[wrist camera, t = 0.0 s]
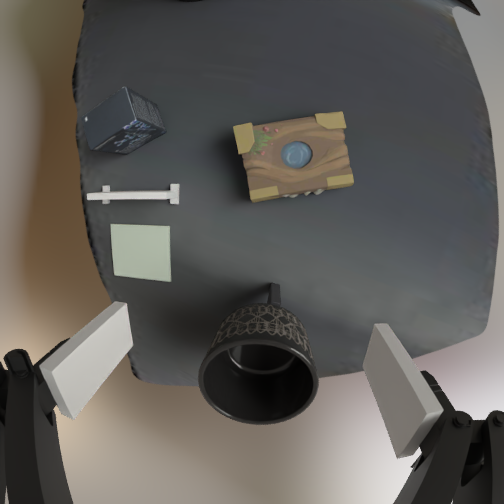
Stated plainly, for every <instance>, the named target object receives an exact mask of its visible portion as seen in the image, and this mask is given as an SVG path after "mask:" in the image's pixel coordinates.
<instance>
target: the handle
mask: <svg viewBox="0 0 504 504" xmlns="http://www.w3.org/2000/svg"><path fill="white" fill-rule="evenodd" d="M110 199H170V204H179V184H171V185H170V190H157V191H110V186H103V192H97V193H88V194H87V200H103V204H109V203H110Z"/></svg>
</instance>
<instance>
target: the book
mask: <svg viewBox="0 0 504 504" xmlns="http://www.w3.org/2000/svg"><path fill="white" fill-rule="evenodd" d="M233 128H234V133H235V138H236V143H237V148H238V153H239V154H240V155H242V158H243V163H244V167H245V170H246V174H247V176H248V177H247V180H248V185H249V190H250V191H249V193H250V198H251V201H252V202H253V203H254V202H259V201H264V200H270V199H275V198H280V197H287V196H289V197H292V198H293V197H296V196H297V195H298V194H303V193H304V195H308V194H309V193H310V192H313V193H314V194H316V195H318V194H320V193H321V192H323V191H324V190H329V189H336V188H342V187H349V186H352V185H353V184H354V180H353V174H352V169H351V168H350V166H349V165H350V162H349V157H348V151H347V146H346V145H345V144H344V140H345V135H344V133H343V132H344V131H343V129H345V128H346V125H345V121H344V116H343V112H333V113H321V114H315V115H314V116H312V117H305V118H298V119H292V120H285V121H279V122H273V123H267V124H261V125H256V126H253V125H252V123H247V124H242V125H237V126H233Z"/></svg>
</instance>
